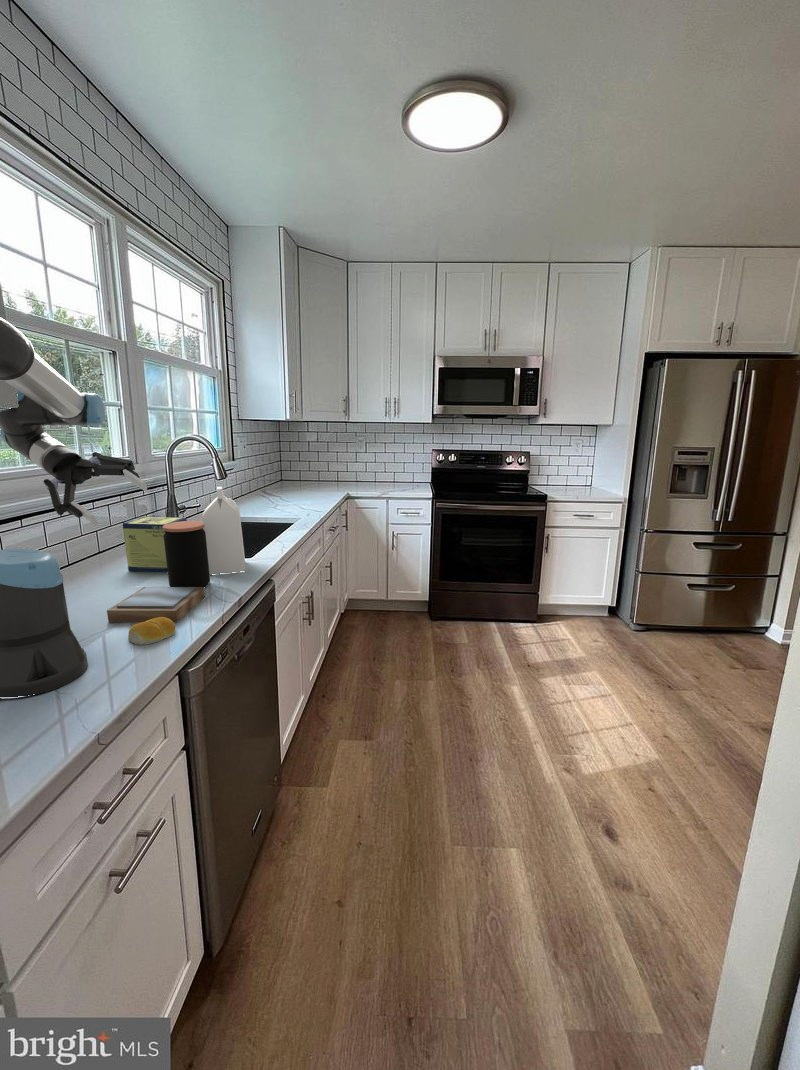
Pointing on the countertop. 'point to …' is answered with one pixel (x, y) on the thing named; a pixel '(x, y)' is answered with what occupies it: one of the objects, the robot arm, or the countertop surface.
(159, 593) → the plinth
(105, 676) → the countertop surface
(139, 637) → the bread roll
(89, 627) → the countertop surface
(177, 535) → the coffee jar
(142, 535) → the protein box
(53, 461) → the robot arm
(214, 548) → the milk
